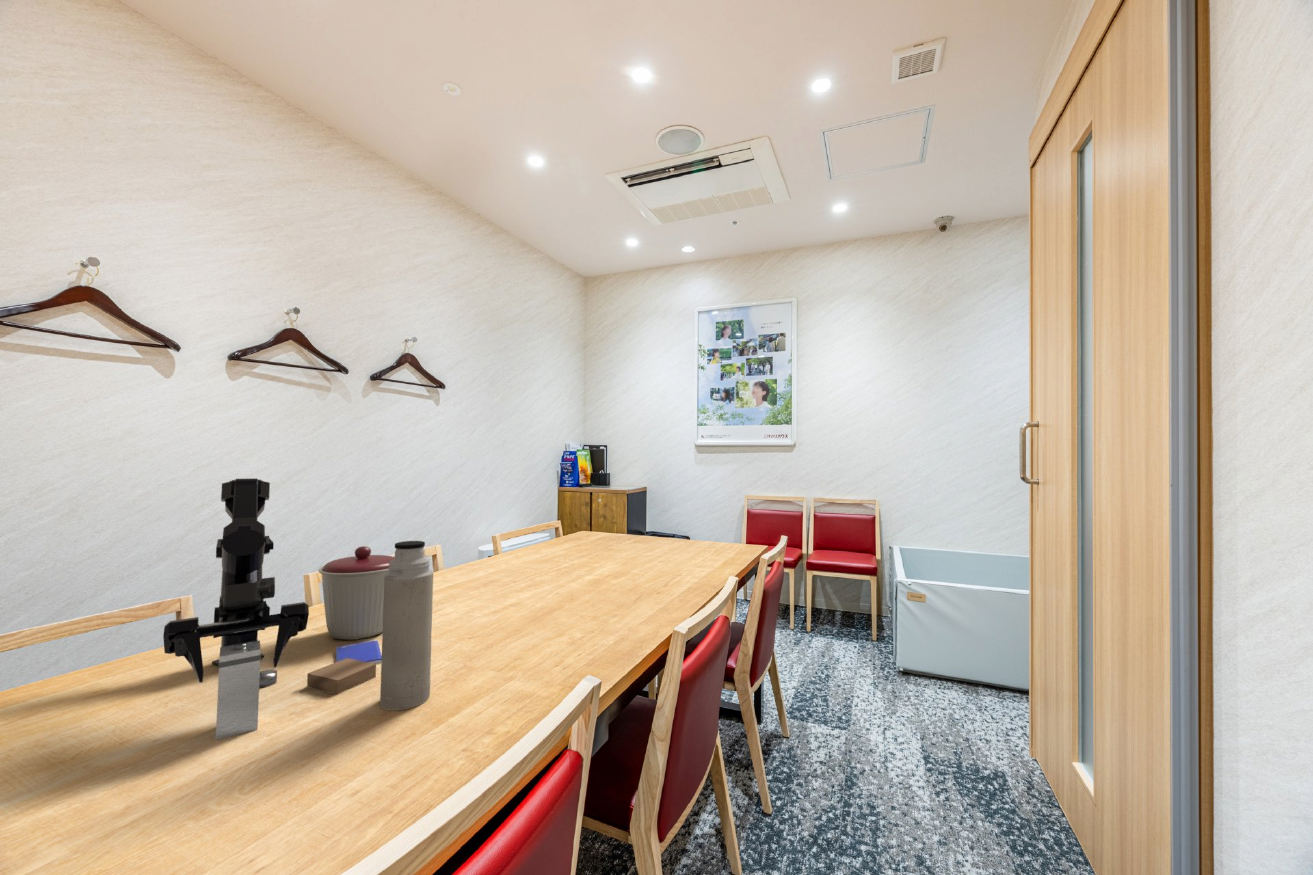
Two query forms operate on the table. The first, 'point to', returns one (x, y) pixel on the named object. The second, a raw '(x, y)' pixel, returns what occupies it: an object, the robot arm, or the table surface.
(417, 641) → the thermos bottle
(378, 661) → the hard drive
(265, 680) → the steel puck
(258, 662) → the plate
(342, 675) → the stand
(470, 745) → the table surface
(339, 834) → the table surface
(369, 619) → the canister
